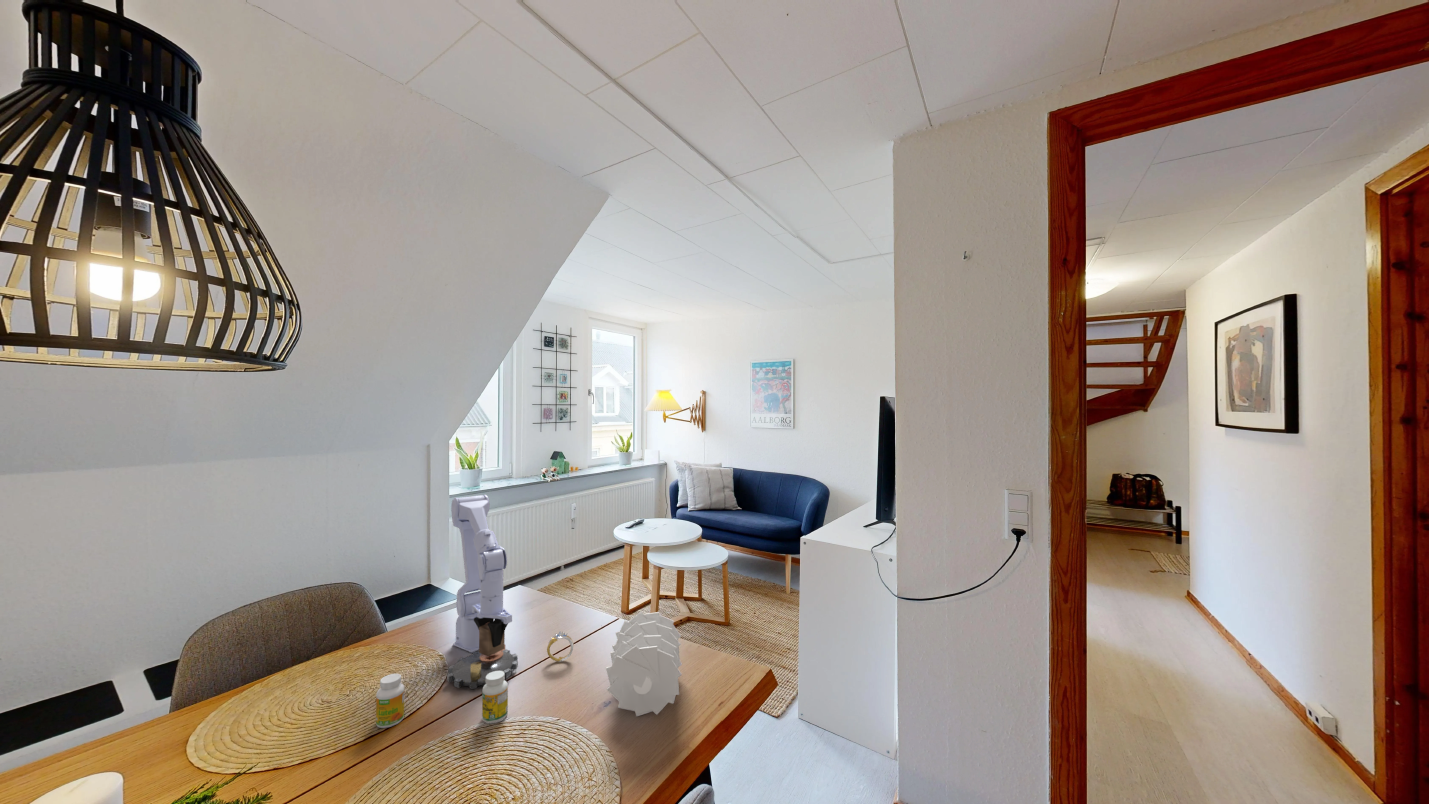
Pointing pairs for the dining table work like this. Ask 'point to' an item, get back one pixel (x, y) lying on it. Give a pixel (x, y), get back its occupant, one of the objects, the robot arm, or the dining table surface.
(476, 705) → the dining table surface
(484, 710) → the supplement bottle
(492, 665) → the sprocket
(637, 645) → the white spiral plate stack
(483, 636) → the wooden block
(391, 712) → the supplement bottle
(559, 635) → the ring
